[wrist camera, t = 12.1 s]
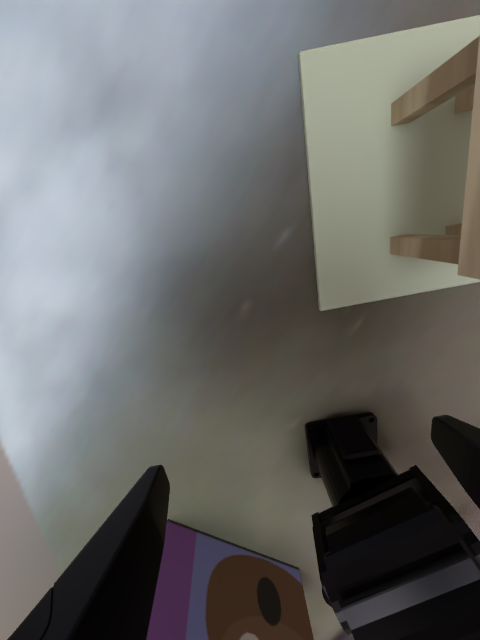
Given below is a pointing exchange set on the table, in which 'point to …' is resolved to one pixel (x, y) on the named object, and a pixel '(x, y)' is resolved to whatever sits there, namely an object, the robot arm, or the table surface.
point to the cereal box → (224, 592)
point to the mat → (382, 162)
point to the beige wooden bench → (476, 228)
